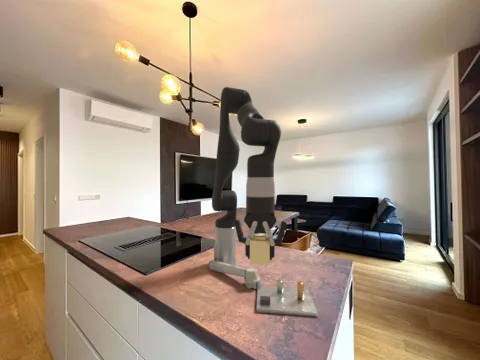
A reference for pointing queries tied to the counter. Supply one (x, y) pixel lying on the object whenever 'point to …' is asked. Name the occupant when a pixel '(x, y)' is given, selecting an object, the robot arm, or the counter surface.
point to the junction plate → (285, 300)
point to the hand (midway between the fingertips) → (259, 258)
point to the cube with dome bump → (260, 250)
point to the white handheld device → (237, 272)
